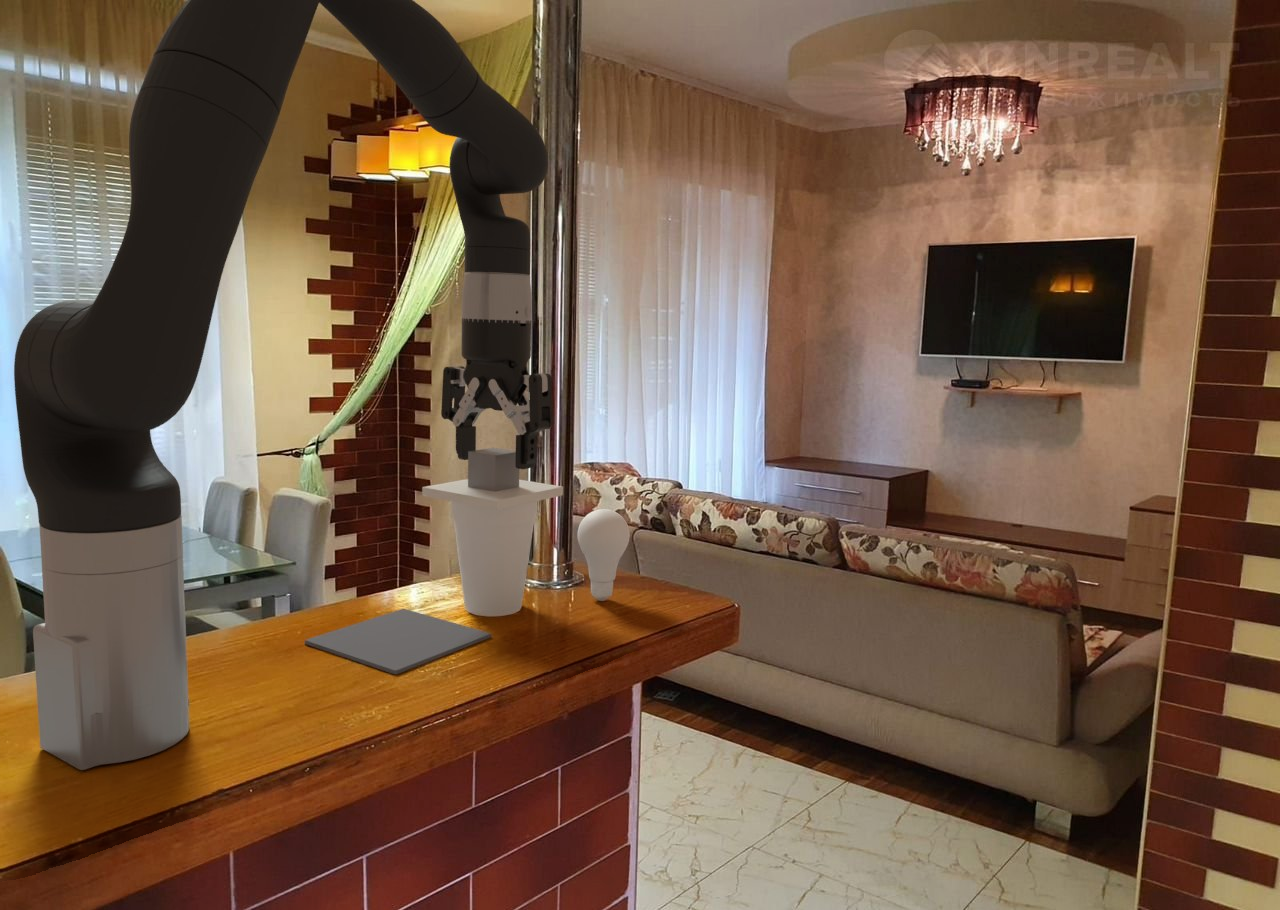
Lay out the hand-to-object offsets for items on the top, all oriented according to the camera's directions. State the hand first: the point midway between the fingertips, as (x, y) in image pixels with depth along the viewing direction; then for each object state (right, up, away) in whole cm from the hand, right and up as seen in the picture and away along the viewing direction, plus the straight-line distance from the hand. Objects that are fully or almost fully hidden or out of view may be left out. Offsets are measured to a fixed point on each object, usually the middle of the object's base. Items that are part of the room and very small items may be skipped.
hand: (495, 463), depth 105 cm
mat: (-8, -18, -9) cm, 22 cm away
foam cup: (-1, -17, +3) cm, 17 cm away
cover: (0, -4, +1) cm, 4 cm away
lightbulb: (+12, -16, +7) cm, 21 cm away
